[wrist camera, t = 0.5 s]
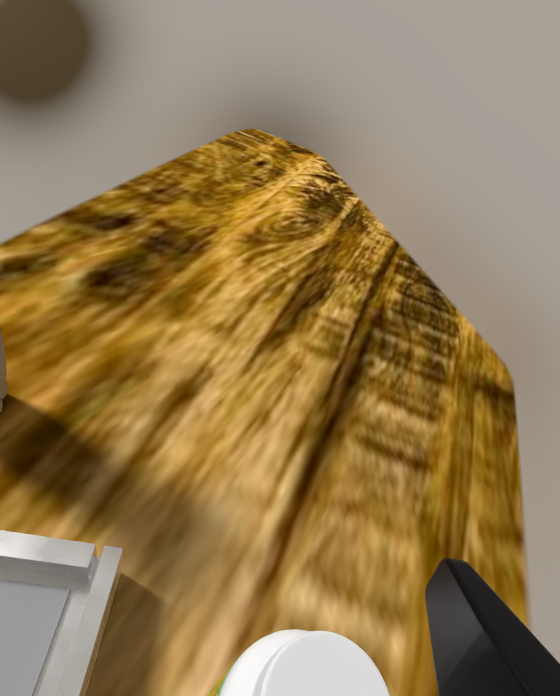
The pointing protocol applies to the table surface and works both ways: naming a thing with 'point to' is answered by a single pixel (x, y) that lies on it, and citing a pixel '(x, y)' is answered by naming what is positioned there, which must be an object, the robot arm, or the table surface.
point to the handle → (2, 372)
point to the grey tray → (52, 612)
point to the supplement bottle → (302, 668)
